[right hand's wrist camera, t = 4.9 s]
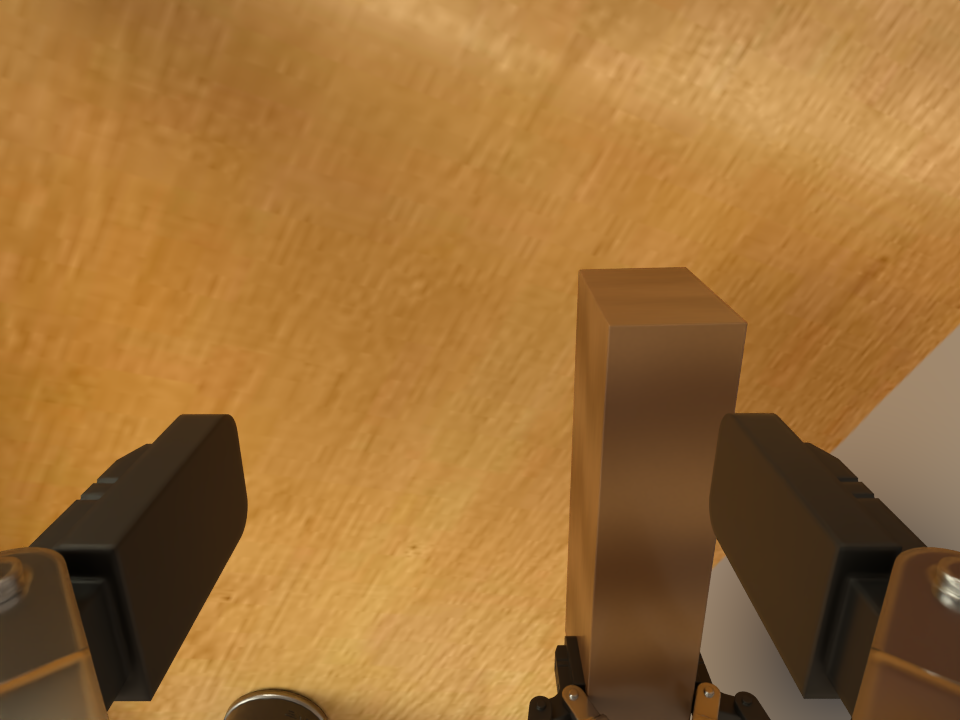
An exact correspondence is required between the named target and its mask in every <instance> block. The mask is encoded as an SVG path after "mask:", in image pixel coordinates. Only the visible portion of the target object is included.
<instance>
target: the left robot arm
mask: <svg viewBox="0 0 960 720" xmlns="http://www.w3.org/2000/svg"><path fill="white" fill-rule="evenodd" d="M555 677H556V685H557V692H558V694H557V695H556V696H555V697H553V698H550V699H548V698H546V697H544V696H537V697H534V698H533V699H532V700H531V701H530V705H529V714H528V720H609V719H608V717H607V716H606V715H605V714H599V712H598V711H597V709H596V708H595V707H594V705H593V704H592V702H591V701H590V700H589V698H588V697H587V695H586V694H585V680H584V675H583V669H582V664H581V658H580V653H579V647H578V642H577V637H576V636H565V644H564V645H558V646H557V648H556V651H555ZM691 713H692V720H770V718H769V717H768V715H767V714H766V712H765V710H764V709H763V707H762V706H761V704H760V703H759V701H758V700H757V698H756V697H755V696H754V695H752V694H750V693H748V692H738V693H737V694H736V695H735V696H731V695H727V694H724V693H722V692H720V690H719V689H718V688H717V687H716V686H715V685H713V684H712V682H711V679H710V677H709V674H708V672H707V669H706V666H705V664H704V661H703V659H702V656H701V654H700V653H699V660H698V667H697V674H696V681H695V688H694V695H693V702H692V709H691ZM224 720H327V718H326V716H325V714H324V713H323V711H322V710H321V709H320V708H319V707H318V706H317V705H315V704H314V703H313V702H311V701H310V700H308V699H307V698H305V697H302V696H300V695H298V694H295V693H292V692H287V691H282V690H261V691H255V692H252V693H249V694H246V695H244V696H242V697H240V698H239V699H237V700H236V701H235V702H234V703H233V704H232V705H231V706H230V707H229V709H228V711H227V713H226V715H225V718H224Z"/></svg>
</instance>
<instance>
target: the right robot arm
mask: <svg viewBox="0 0 960 720" xmlns="http://www.w3.org/2000/svg"><path fill="white" fill-rule="evenodd" d="M247 506H248V504H247V493H246V486H245V479H244V473H243V466H242V459H241V452H240V446H239V439H238V432H237V427H236V423H235V421H234V419H233V417H232V416H231V415H229V414H182V415H180V416H179V417H178V418H177V419H176V420H175V421H174V422H173V423H172V424H171V425H170V426H169V427H168V428H167V429H166V430H165V431H164V432H163V433H162V434H161V435H160V436H159V437H158V438H157V439H156V440H155V441H154V442H153V443H152V444H145V445H144V446H142V447H140V448H138V449H136V450H134V451H133V452H131V453H129V454H127V455H125V456H124V457H122V458H120V459H118V460H117V461H116V462H115V463H113V464H112V465H111V466H110V467H109V468H108V469H107V470H106V471H105V472H104V473H103V474H102V475H101V476H100V477H99V478H98V479H97V483H93V484H92V485H91V486H90V487H89V488H88V489H87V490H86V491H85V492H84V493H83V494H82V495H81V499H80V500H76V501H75V502H74V503H73V504H72V505H71V506H70V507H69V508H68V509H67V510H66V511H65V512H64V513H63V514H62V515H61V516H60V517H59V518H58V519H56V520H55V521H54V522H53V523H52V524H51V525H50V526H49V527H48V528H47V529H46V530H45V531H44V532H43V533H42V534H41V535H40V536H39V537H38V538H37V539H36V540H35V541H34V542H33V543H32V544H31V545H30V546H29V547H25V548H17V549H11V550H6V551H2V552H0V720H109V717H108V714H107V711H108V710H109V708H110V706H111V705H112V703H113V701H151V700H152V698H153V696H154V694H155V692H156V691H157V689H158V687H159V685H160V683H161V681H162V680H163V678H164V676H165V674H166V672H167V671H168V669H169V667H170V665H171V663H172V661H173V660H174V658H175V656H176V654H177V652H178V651H179V649H180V647H181V645H182V643H183V642H184V640H185V638H186V636H187V634H188V632H189V631H190V629H191V627H192V625H193V623H194V622H195V620H196V618H197V616H198V614H199V612H200V611H201V609H202V607H203V605H204V603H205V602H206V600H207V598H208V596H209V594H210V593H211V591H212V589H213V587H214V585H215V583H216V582H217V580H218V578H219V576H220V574H221V573H222V571H223V569H224V567H225V565H226V563H227V562H228V560H229V558H230V556H231V554H232V553H233V551H234V549H235V547H236V545H237V544H238V542H239V540H240V538H241V536H242V534H243V531H244V528H245V524H246V518H247ZM709 514H710V520H711V525H712V529H713V531H714V534H715V536H716V538H717V540H718V542H719V543H720V545H721V547H722V549H723V551H724V553H725V554H726V556H727V558H728V560H729V562H730V564H731V565H732V567H733V569H734V571H735V573H736V575H737V576H738V578H739V580H740V582H741V584H742V586H743V588H744V589H745V591H746V593H747V595H748V597H749V599H750V600H751V602H752V604H753V606H754V608H755V610H756V611H757V613H758V615H759V617H760V619H761V621H762V622H763V624H764V626H765V628H766V630H767V632H768V633H769V635H770V637H771V639H772V641H773V643H774V644H775V646H776V648H777V650H778V652H779V654H780V655H781V657H782V659H783V661H784V663H785V665H786V666H787V668H788V670H789V672H790V674H791V676H792V677H793V679H794V681H795V683H796V685H797V687H798V689H799V690H800V692H801V694H802V696H803V698H804V699H841V700H842V702H843V704H844V705H845V707H846V708H847V710H848V712H849V713H850V715H851V720H960V552H958V551H954V550H949V549H943V548H935V547H927V546H926V545H925V544H924V543H923V542H922V541H921V540H920V539H919V538H918V537H917V536H916V535H915V534H914V533H913V532H912V531H911V530H910V529H909V528H908V527H907V526H906V525H905V524H904V523H903V522H902V521H901V520H900V519H899V518H898V517H897V516H896V515H895V514H894V513H893V512H892V511H891V510H890V509H889V508H888V507H887V506H886V505H885V504H884V503H883V502H882V501H880V499H878V498H874V494H873V493H872V492H871V491H870V490H869V489H868V488H867V487H866V486H865V485H864V484H863V483H862V482H858V478H857V477H856V476H855V475H854V474H853V473H852V472H851V471H850V470H849V469H848V468H847V467H846V466H845V465H844V464H843V463H842V462H841V461H840V460H839V459H838V458H836V457H834V456H832V455H831V454H829V453H827V452H825V451H823V450H821V449H820V448H818V447H816V446H814V445H812V444H811V443H803V442H802V441H801V440H800V439H799V438H798V437H797V435H796V434H795V433H794V432H793V431H792V430H791V429H790V428H789V427H788V426H787V425H786V424H785V423H784V422H783V421H782V420H781V419H780V418H779V417H778V416H777V415H776V414H774V413H728V414H726V415H725V416H724V417H723V418H722V421H721V423H720V427H719V433H718V440H717V447H716V454H715V461H714V467H713V474H712V481H711V488H710V495H709Z"/></svg>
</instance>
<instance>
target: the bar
mask: <svg viewBox="0 0 960 720" xmlns="http://www.w3.org/2000/svg"><path fill="white" fill-rule="evenodd" d="M746 329H747V322H746V321H745V320H744V319H743V318H741V317H740V316H739V315H738V314H737V313H736V312H735V311H734V310H733V309H731V308H730V307H729V306H728V305H727V304H726V303H725V302H724V301H723V300H721V299H720V298H719V297H718V296H717V295H716V294H715V293H714V292H713V291H711V290H710V289H709V288H708V287H707V286H706V285H705V284H704V283H703V282H701V281H700V280H699V279H698V278H697V277H696V276H695V275H694V274H693V273H691V272H690V271H689V270H688V269H687V268H686V267H673V268H630V269H586V270H579V275H578V302H577V329H576V355H575V382H574V409H573V435H572V462H571V489H570V515H569V542H568V568H567V595H566V622H565V633H566V636H576V637H577V642H578V647H579V653H580V658H581V664H582V669H583V675H584V680H585V694H586V695H587V697H588V698H589V700H590V701H591V702H592V704H593V705H594V707H595V708H596V709H597V711H598V712H599V714H605V715H606V716H607V717H608V719H609V720H690V716H691V709H692V702H693V695H694V688H695V681H696V674H697V667H698V660H699V653H700V647H701V640H702V633H703V626H704V619H705V612H706V605H707V598H708V591H709V584H710V578H711V571H712V564H713V557H714V550H715V543H716V536H715V534H714V531H713V529H712V525H711V520H710V514H709V495H710V488H711V481H712V474H713V467H714V461H715V454H716V447H717V440H718V433H719V427H720V423H721V421H722V418H723V417H724V416H725V415H726V414H728V413H734V412H735V405H736V398H737V392H738V385H739V378H740V371H741V364H742V357H743V350H744V343H745V336H746Z"/></svg>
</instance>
